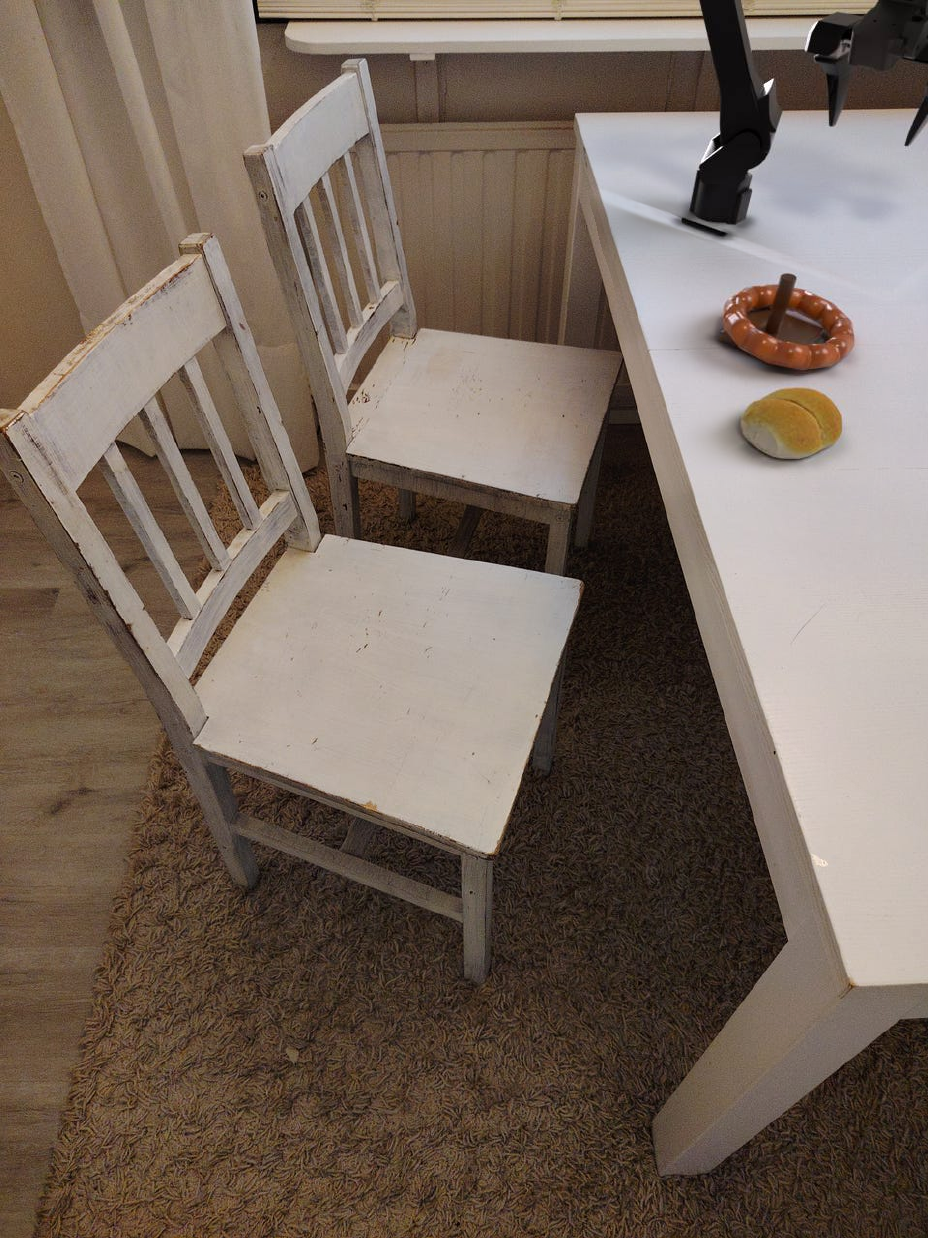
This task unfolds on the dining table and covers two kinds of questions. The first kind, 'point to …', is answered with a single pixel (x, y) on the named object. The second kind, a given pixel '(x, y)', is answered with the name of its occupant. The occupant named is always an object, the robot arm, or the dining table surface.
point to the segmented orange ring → (784, 351)
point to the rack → (781, 318)
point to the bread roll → (792, 423)
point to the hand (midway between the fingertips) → (869, 135)
